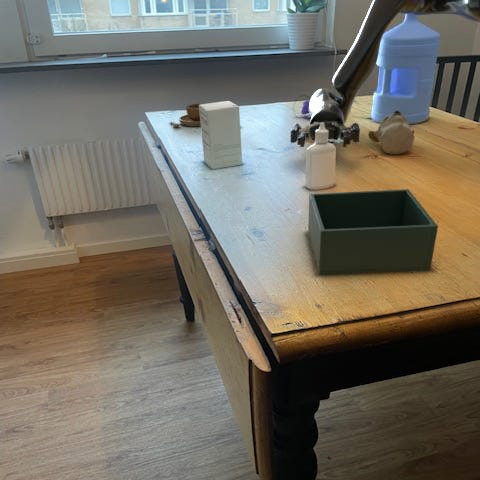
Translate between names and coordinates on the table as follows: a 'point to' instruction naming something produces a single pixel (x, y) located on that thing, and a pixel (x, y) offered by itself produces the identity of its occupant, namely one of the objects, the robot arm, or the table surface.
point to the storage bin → (370, 232)
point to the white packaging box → (221, 134)
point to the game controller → (304, 107)
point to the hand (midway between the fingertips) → (323, 142)
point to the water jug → (406, 71)
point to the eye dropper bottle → (320, 161)
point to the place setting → (190, 116)
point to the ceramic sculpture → (394, 134)
